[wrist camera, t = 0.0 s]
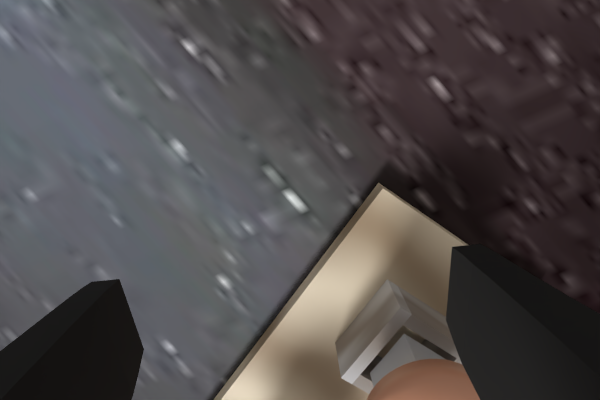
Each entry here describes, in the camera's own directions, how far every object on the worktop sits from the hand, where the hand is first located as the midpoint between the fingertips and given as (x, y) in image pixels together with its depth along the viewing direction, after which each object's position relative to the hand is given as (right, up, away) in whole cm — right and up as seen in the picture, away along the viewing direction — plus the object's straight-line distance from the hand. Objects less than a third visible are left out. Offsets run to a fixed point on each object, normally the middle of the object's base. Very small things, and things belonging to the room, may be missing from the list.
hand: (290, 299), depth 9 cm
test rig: (+2, -8, +13) cm, 16 cm away
